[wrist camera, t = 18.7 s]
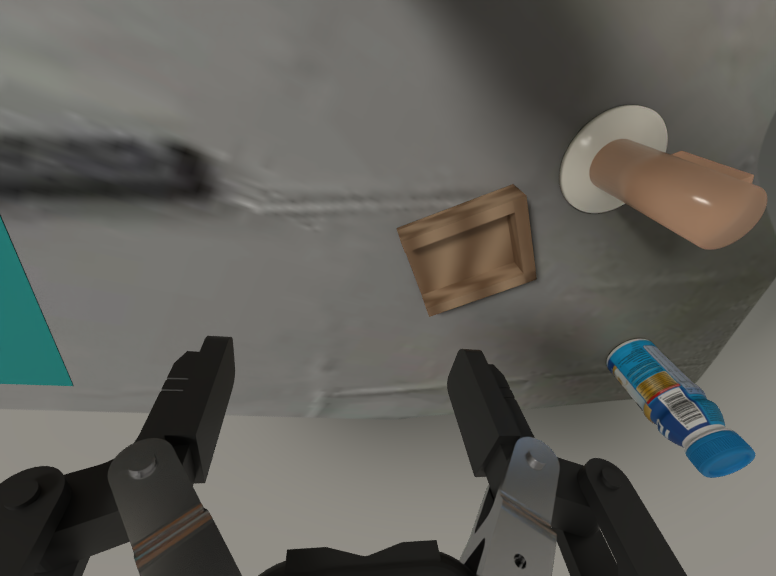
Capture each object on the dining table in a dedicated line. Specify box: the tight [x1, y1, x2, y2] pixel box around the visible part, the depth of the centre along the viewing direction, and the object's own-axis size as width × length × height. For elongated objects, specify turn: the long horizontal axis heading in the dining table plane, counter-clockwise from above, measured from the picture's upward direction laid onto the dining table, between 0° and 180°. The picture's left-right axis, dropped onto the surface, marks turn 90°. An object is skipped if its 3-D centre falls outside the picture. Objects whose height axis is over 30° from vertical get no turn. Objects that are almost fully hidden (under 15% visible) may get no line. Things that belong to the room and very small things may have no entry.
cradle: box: [397, 184, 537, 317], centre depth 45 cm, size 14×12×4 cm
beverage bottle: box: [606, 338, 755, 478], centre depth 55 cm, size 8×8×20 cm
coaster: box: [559, 105, 668, 213], centre depth 42 cm, size 12×12×1 cm
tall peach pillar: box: [589, 139, 767, 250], centre depth 35 cm, size 8×6×15 cm
